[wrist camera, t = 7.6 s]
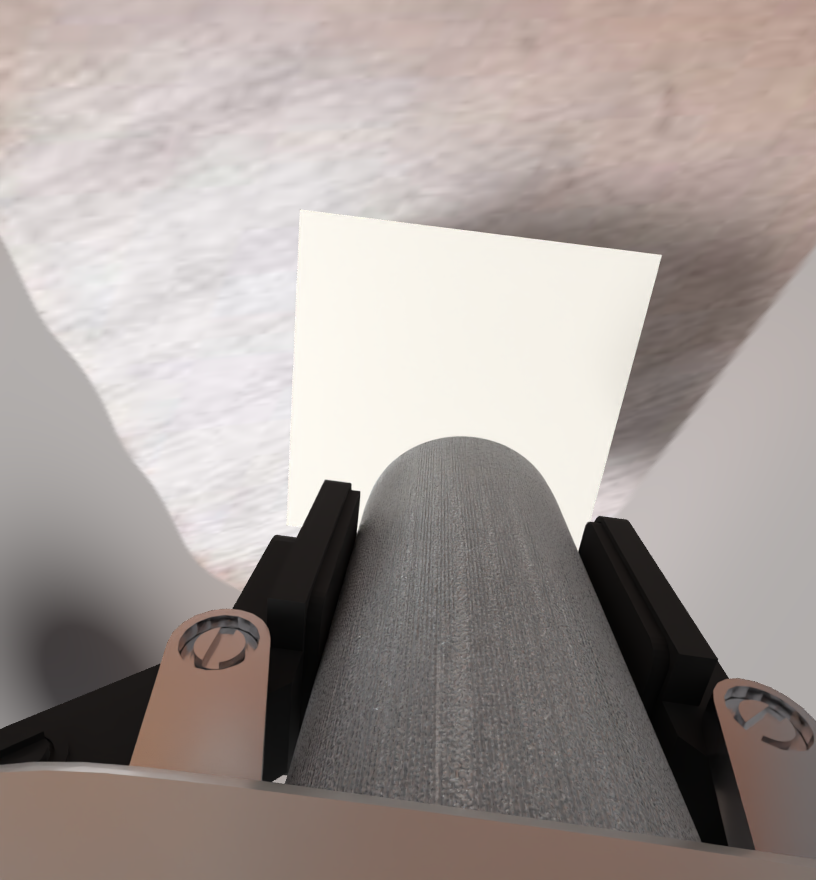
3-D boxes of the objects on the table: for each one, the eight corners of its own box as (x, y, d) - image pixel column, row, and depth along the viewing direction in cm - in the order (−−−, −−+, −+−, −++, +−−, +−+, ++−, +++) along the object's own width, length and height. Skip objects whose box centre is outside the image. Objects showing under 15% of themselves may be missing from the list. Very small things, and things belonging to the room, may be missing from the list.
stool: (343, 217, 28) (299, 209, 20) (595, 248, 28) (661, 255, 19) (326, 450, 33) (286, 525, 24) (543, 479, 32) (578, 564, 24)
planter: (598, 508, 13) (1105, 1405, 3) (474, 632, 14) (542, 1504, 4) (442, 393, 12) (437, 1089, 2) (328, 536, 13) (24, 1336, 4)
